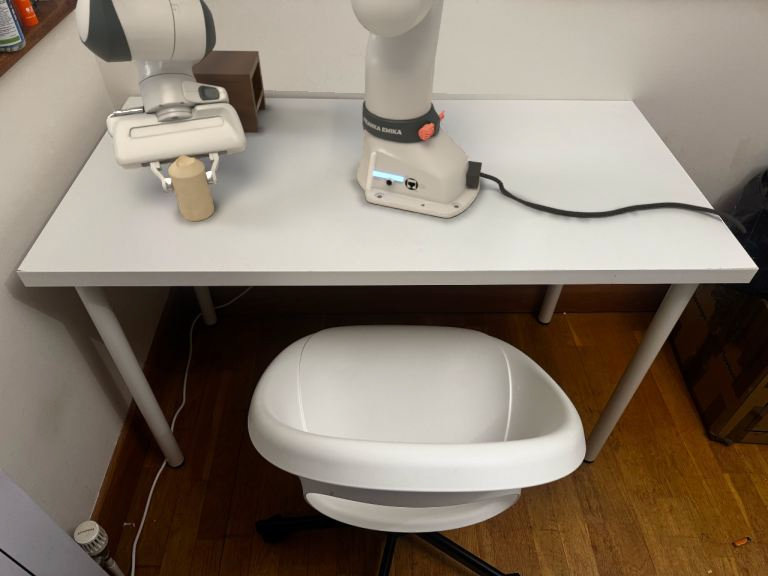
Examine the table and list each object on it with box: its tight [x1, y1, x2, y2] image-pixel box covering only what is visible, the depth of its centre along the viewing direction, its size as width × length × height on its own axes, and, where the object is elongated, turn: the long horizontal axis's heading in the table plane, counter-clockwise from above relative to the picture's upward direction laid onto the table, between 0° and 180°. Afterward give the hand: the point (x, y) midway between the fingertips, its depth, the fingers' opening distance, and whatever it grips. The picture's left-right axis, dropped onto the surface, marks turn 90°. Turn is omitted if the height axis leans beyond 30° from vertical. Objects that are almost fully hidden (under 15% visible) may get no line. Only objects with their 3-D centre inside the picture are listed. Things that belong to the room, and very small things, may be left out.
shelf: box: [192, 49, 267, 133], centre depth 114 cm, size 13×11×12 cm
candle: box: [167, 155, 215, 222], centre depth 92 cm, size 6×6×10 cm
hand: (191, 186), depth 91 cm, fingers closed on candle, 5 cm apart
